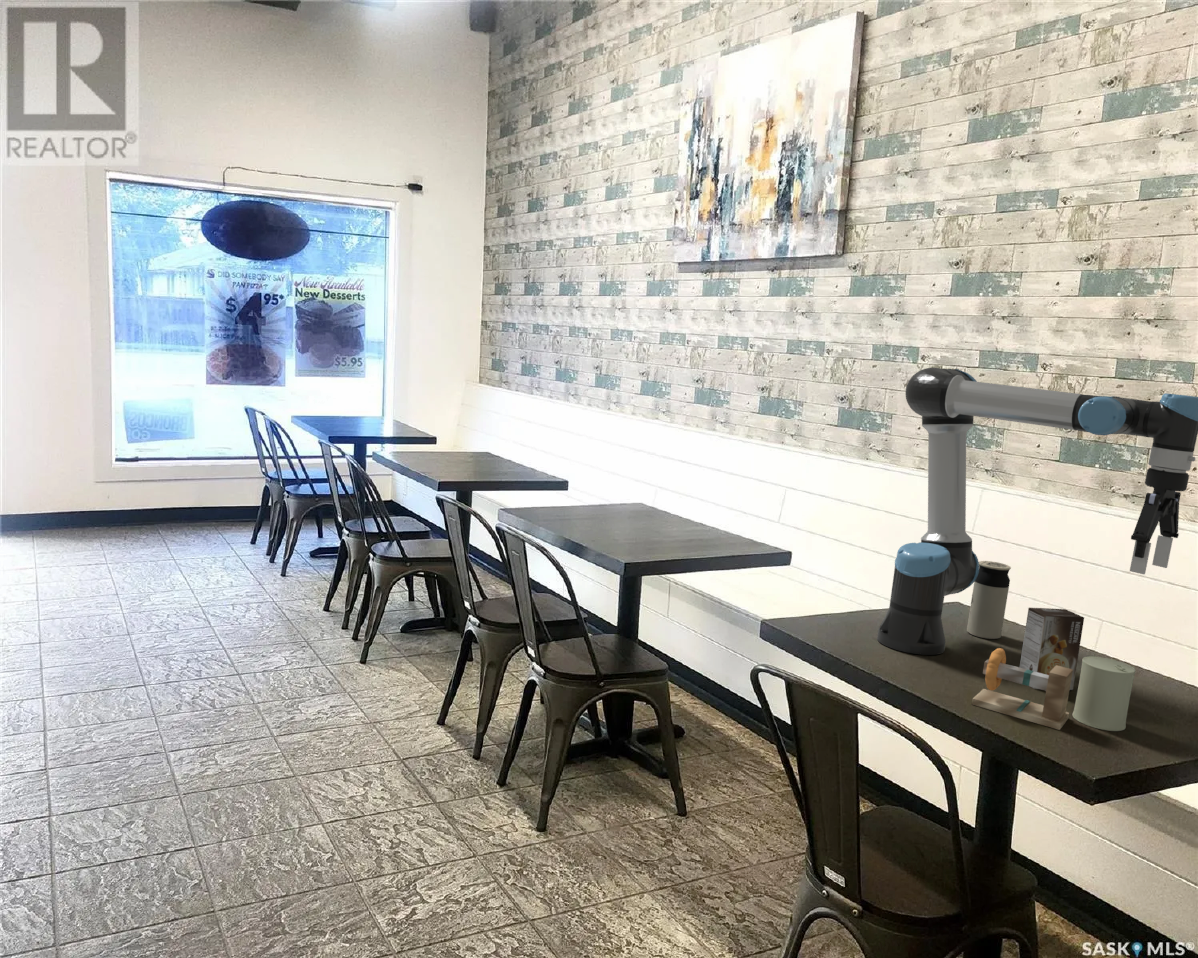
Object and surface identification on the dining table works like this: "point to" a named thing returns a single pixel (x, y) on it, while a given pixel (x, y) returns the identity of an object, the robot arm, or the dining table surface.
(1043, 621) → the coffee box
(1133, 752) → the dining table surface
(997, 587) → the travel mug
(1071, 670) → the pipe stand
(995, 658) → the ring
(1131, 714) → the dining table surface
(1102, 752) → the dining table surface
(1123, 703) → the can
